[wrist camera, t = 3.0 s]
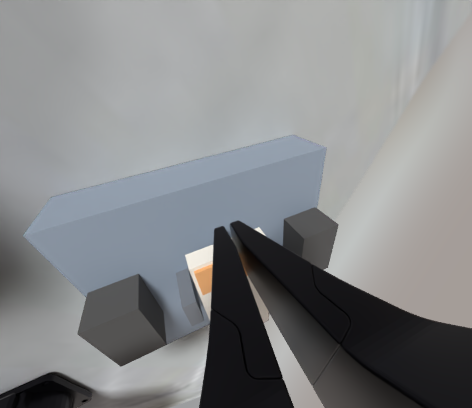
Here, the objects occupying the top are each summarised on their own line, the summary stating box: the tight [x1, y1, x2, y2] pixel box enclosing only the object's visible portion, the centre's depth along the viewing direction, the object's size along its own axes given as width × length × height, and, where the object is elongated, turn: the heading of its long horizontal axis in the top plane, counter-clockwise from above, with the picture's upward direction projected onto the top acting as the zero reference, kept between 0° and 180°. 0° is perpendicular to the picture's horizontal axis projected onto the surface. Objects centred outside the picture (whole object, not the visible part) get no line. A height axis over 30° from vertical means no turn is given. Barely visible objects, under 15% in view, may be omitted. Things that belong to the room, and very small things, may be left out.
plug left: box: [78, 274, 167, 366], centre depth 10 cm, size 4×2×2 cm, turn 7°
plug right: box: [283, 207, 338, 270], centre depth 13 cm, size 4×2×2 cm, turn 7°
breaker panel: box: [23, 135, 327, 344], centre depth 13 cm, size 12×14×5 cm
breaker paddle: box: [185, 227, 269, 323], centre depth 11 cm, size 8×4×1 cm, turn 7°
